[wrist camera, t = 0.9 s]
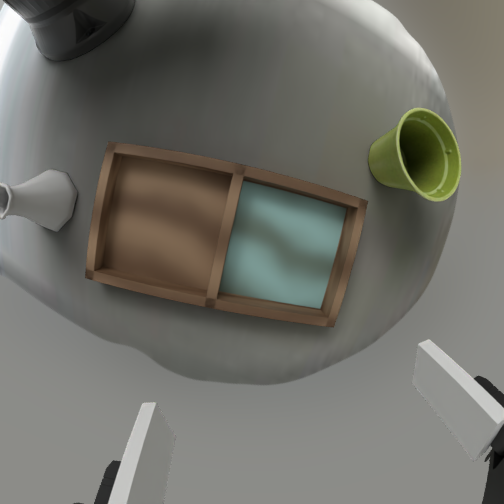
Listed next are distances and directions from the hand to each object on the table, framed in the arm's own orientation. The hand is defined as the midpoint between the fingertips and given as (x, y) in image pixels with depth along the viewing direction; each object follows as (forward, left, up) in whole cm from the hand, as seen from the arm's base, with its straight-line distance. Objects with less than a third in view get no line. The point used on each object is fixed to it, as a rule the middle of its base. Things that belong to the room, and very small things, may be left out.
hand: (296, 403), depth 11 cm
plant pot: (-18, +13, -19) cm, 29 cm away
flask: (-5, -25, -19) cm, 32 cm away
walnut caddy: (-5, -4, -19) cm, 20 cm away
